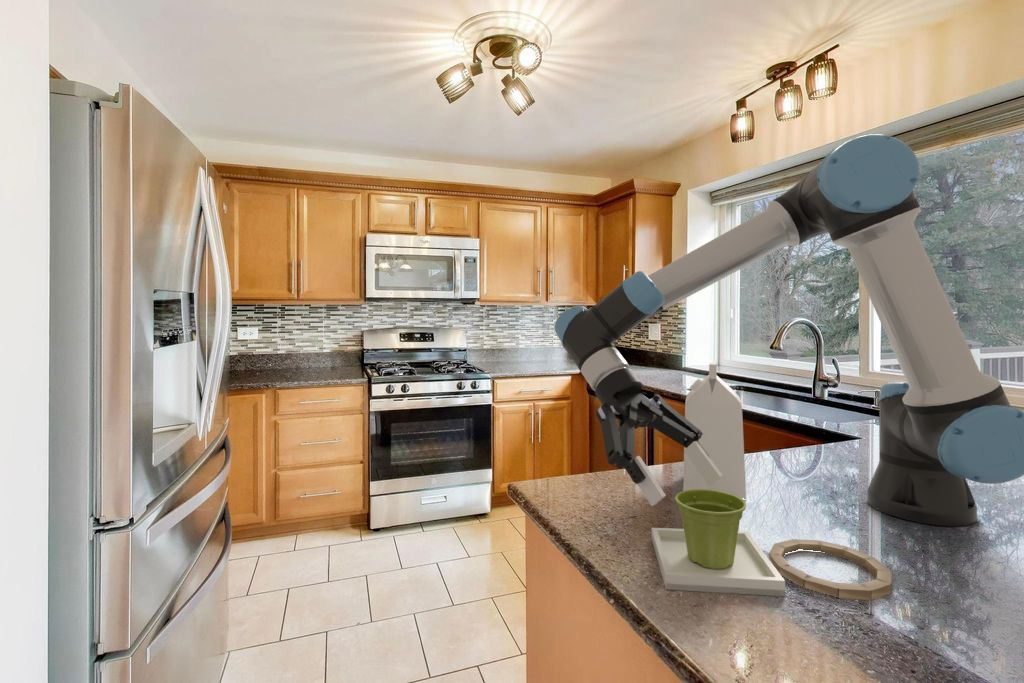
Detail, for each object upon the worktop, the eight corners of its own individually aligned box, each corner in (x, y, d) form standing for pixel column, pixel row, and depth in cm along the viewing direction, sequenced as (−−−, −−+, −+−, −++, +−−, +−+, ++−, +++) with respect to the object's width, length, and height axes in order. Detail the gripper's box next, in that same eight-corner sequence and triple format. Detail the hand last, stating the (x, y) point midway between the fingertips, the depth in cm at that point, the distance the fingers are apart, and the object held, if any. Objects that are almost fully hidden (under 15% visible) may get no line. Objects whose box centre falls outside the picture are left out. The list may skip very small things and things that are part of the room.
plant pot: (670, 543, 76) (669, 487, 75) (734, 545, 75) (734, 489, 74) (683, 574, 67) (682, 511, 66) (756, 577, 65) (756, 513, 65)
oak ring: (855, 549, 74) (855, 541, 74) (917, 602, 60) (917, 593, 60) (756, 545, 76) (756, 537, 76) (794, 595, 62) (794, 586, 62)
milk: (746, 500, 95) (745, 366, 93) (683, 494, 99) (682, 365, 98) (742, 481, 106) (741, 360, 105) (685, 476, 110) (684, 360, 109)
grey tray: (748, 544, 77) (748, 531, 77) (785, 596, 62) (785, 580, 62) (651, 539, 79) (651, 527, 79) (665, 589, 64) (665, 574, 64)
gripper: (648, 387, 94) (721, 485, 82) (546, 402, 79) (616, 523, 68) (671, 360, 89) (752, 461, 77) (566, 372, 75) (646, 496, 63)
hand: (689, 490), depth 72 cm, fingers open, 13 cm apart
